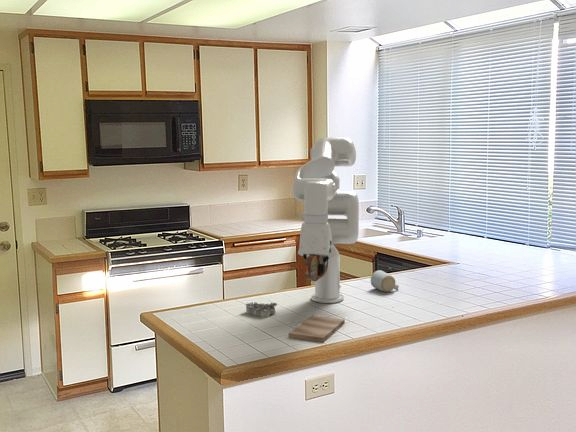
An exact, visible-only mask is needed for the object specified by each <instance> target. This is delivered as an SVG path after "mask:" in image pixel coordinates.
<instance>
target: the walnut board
mask: <svg viewBox="0 0 576 432" xmlns="http://www.w3.org/2000/svg"><path fill="white" fill-rule="evenodd" d="M345 323H346V321H345V319H344V318H337V317H329V316H321V315H320V316H319V315H313V314H312V315H311V316H309V317H308V318H307V319H306V320H304V321H303V322H300V324H298V325H297V326H296V327H295V328H294V329H292V330H291V331H289V333H288V338H289V339H299V340H306V341H312V342H320V343H325V342H326V341H327V340H328V339H329V338H330V337H332V336H333V334H335V333H336V332H337V331H338V330H339V329H340V328H342V327H343V326H344V325H345ZM343 324H344V325H343Z"/></svg>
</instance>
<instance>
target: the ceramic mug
mask: <svg viewBox="0 0 576 432" xmlns="http://www.w3.org/2000/svg"><path fill="white" fill-rule="evenodd" d="M370 284H371V287H373V288H374V289H376V290H378V291H381V292H384V293H389V292H392V291H393V290H394V289H396V290H399V285H398V284H396V280H395V278H394V276H393V275H391V274H390V273H387V272H385V271H384V270H381V269H379V270H375V271H374V272H373V273H372V274H371V278H370Z"/></svg>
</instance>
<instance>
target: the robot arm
mask: <svg viewBox="0 0 576 432" xmlns="http://www.w3.org/2000/svg"><path fill="white" fill-rule="evenodd" d="M309 152H310V153H309V154H310V160H309V161H308V162H305V164H303V165H302V166H300V167H299V168H298V169H297V170H296V172H295V175H294V178H293V179H294V180H293V182H292V183H293V184H292V194H293V197H294V198H295V199H296V200H297V201H301V202H303V201H304V203H303V204H304V205H303V208H304V210H303V211H304V213H303V214H301V215H300V220H303V223H301V228H300V233H299V234H300V235H299V244H298V246H299V248H298V251H297V254H298V256H301V257H302V258H303V259H304V260H305V261H306V258H307V257H308V256H309V255H319V258H320V264H318V276H322V275H323V274H324V273H325V262H326V261H327V260H328V268H327V272H326V274H325V275H324V276H323V277H321V278H320V279H318V280H317V281H314V282H315V285H314V287H315V288H314V293H313V294H312V295H311V297H310V298H311V300H312V301H313V302H316V303H320V304H321V303H322V304H333V303H339V302H342V301H344V298H345V296H344V295H343V294H342V293H340V292H341V291H340V289H341V287H342V286H341V284H340V282H341V279H340V276H341V275H340V273H341V272H340V271H341V270H340V268H341V267H340V265H341V262H340V260H341V258H340V256H341V255H340V253H339V250H338V248H336V246H335V244H339V245H340V244H343V245H344V244H345V245H346V244H347V245H351V244H355V243H356V242H357V241H358V239H359V232H360V231H359V227H360V226H359V221H360V220H359V219H360V217H359V215H360V214H359V212H360V211H359V210H360V209H359V207H360V206H359V196H358V194H357V193H356V192H355V191H351V190H341V189H340V182H341V181H340V180H341V179H340V177H339V175H338V174H337V172H336V170H335V167H352V166H353V165H355V162H356V158H357V150H356V147H355V144H354V142H353V140H352V139H350V138H349V137H345V136H343V137H340V136H338V137H335V136H334V137H327V136H326V137H322V138H319V139H317V140H316V141H315V143H314V146H312V147H311V148H310V151H309ZM329 216H337V217H338V216H341V217H342V216H344V217H346V218H328V217H329ZM326 255H327V256H326Z"/></svg>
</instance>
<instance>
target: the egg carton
mask: <svg viewBox="0 0 576 432" xmlns="http://www.w3.org/2000/svg"><path fill="white" fill-rule="evenodd" d="M244 305H245V308H246V315H251V313H253V316H255V315H257V316H260V318H264V317H265V318H269V317H270V314H274V315H276V306H277V305H278V304H277V303H276V302H270V303H258V302H249V303H245V304H244Z"/></svg>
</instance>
